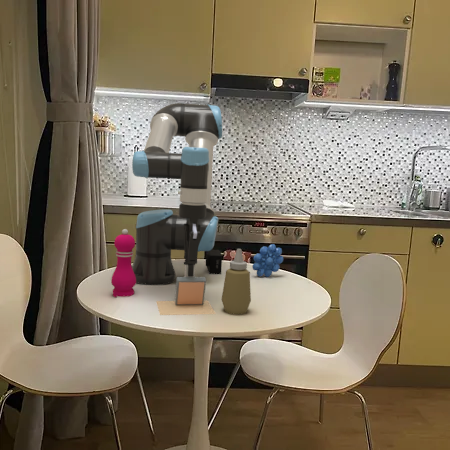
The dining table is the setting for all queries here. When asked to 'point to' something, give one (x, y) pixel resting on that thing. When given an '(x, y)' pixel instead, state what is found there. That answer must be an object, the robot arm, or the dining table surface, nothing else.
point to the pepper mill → (124, 266)
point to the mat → (183, 308)
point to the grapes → (267, 260)
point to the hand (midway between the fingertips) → (189, 286)
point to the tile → (190, 290)
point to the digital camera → (214, 261)
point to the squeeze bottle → (237, 286)
